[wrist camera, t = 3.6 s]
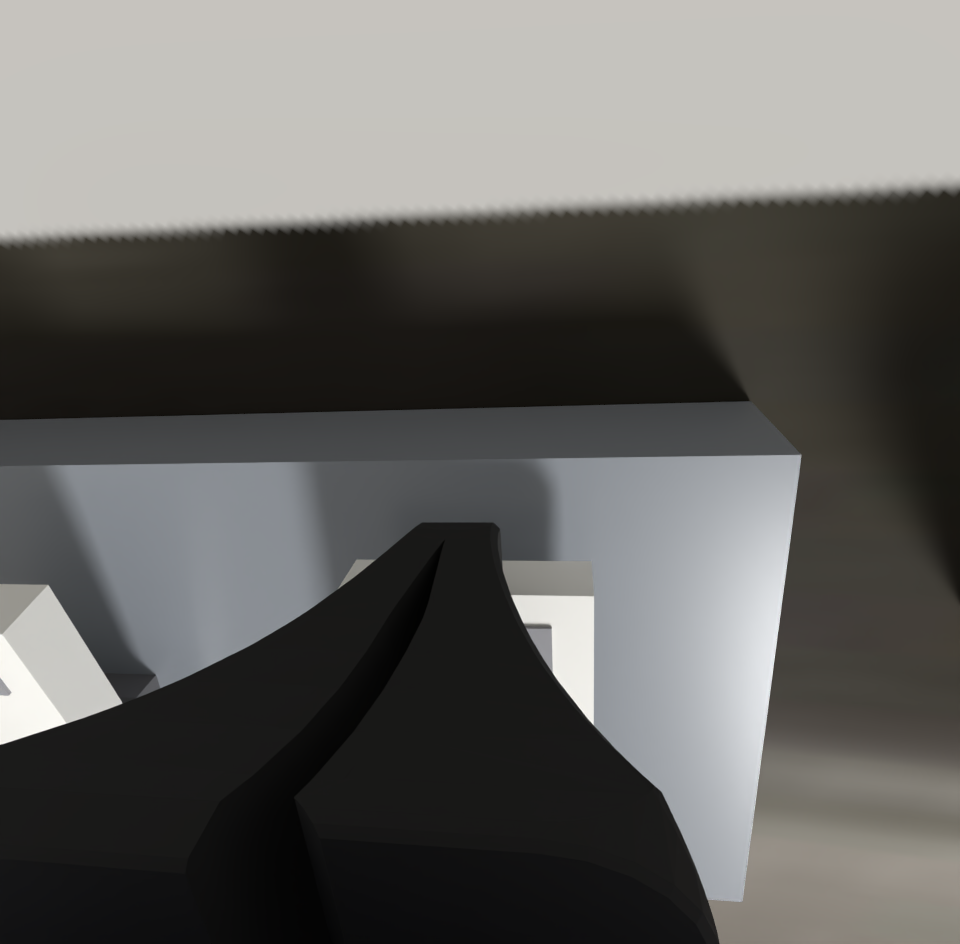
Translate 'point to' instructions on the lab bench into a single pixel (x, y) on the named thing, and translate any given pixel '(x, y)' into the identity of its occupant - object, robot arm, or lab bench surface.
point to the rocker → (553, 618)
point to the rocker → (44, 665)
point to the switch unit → (439, 498)
